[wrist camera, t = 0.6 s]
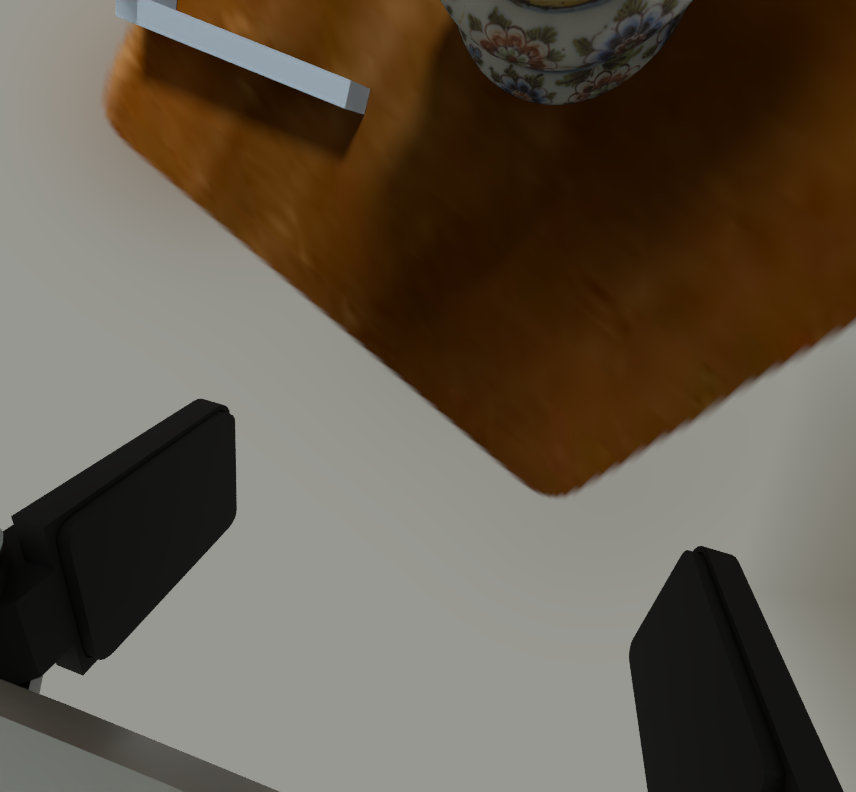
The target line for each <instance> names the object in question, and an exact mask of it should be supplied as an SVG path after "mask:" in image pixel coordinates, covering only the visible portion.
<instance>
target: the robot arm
mask: <svg viewBox="0 0 856 792" xmlns="http://www.w3.org/2000/svg"><path fill="white" fill-rule="evenodd" d="M235 451H236V449H235V419H234V417H233V415H231V414H230V413H229V410H228V407H226V406H224V405H221V404H218V403H215V402H211V401H208V400H204V399H197V400H195V401H193V402H192V403H190V404H189V405H187V406H185V407H184V408H182V409H181V410H179V411H177V412H176V413H174V414H173V415H171V416H169V417H168V418H166V419H165V420H163V421H162V422H160V423H158V424H157V425H155V426H154V427H152V428H150V429H149V430H147V431H146V432H144V433H143V434H141V435H139V436H138V437H136V438H135V439H133V440H131V441H130V442H128V443H127V444H125V445H123V446H122V447H120V448H119V449H117V450H116V451H114V452H112V453H111V454H109V455H108V456H106V457H104V458H103V459H101V460H100V461H98V462H96V463H95V464H93V465H92V466H90V467H89V468H87V469H85V470H84V471H82V472H81V473H79V474H77V475H76V476H74V477H73V478H71V479H70V480H68V481H66V482H65V483H63V484H62V485H60V486H59V487H57V488H55V489H54V490H52V491H51V492H49V493H47V494H46V495H44V496H43V497H41V498H39V499H38V500H36V501H35V502H33V503H31V504H30V505H28V506H27V507H25V508H24V509H22V510H20V511H19V512H17V513H16V514H14V515H13V516H12V520H13V523H14V525H12V526H11V527H9V528H8V529H6V530H5V531H2V530H1V529H0V792H279V791H276V790H274V789H271V788H269V787H267V786H264V785H262V784H259V783H257V782H255V781H252V780H250V779H247V778H245V777H243V776H240V775H238V774H235V773H233V772H230V771H228V770H226V769H223V768H221V767H218V766H216V765H213V764H211V763H209V762H206V761H204V760H201V759H199V758H196V757H194V756H191V755H189V754H186V753H184V752H182V751H179V750H177V749H174V748H172V747H169V746H167V745H164V744H162V743H160V742H157V741H155V740H152V739H150V738H147V737H145V736H142V735H140V734H137V733H135V732H132V731H130V730H128V729H125V728H123V727H120V726H118V725H115V724H113V723H111V722H108V721H106V720H103V719H101V718H98V717H96V716H93V715H91V714H88V713H86V712H84V711H81V710H78V709H76V708H74V707H71V706H69V705H66V704H64V703H61V702H59V701H56V700H53V699H51V698H48V697H46V696H43V695H40V694H39V693H40V688H41V683H42V678H43V674H44V673H45V672H46V671H47V670H48V669H49V668H50V667H52V666H53V665H54V664H55V663H56V664H57V665H58V666H61V667H63V668H66V669H68V670H71V671H73V672H76V673H78V674H81V675H84V674H85V673H86V672H87V671H88V670H89V668H90V667H91V666H92V665H93V664H94V663H95V662H96V661H97V660H98V659H99V660H102V659H105V658H107V657H108V656H110V655H111V654H112V653H113V652H114V651H115V650H116V649H117V648H118V647H119V646H120V644H122V642H123V641H124V640H125V639H126V638H127V637H128V636H129V635H130V634H131V633H132V632H133V631H134V630H135V628H136V627H137V626H138V625H139V624H140V623H141V622H142V621H143V620H144V618H145V617H147V615H148V614H149V613H150V612H151V611H152V610H153V609H154V608H155V607H156V606H157V605H158V604H159V603H160V601H161V600H162V599H163V598H164V597H165V596H166V595H167V594H168V593H169V592H170V591H171V590H172V588H173V587H174V586H175V585H176V584H177V583H178V582H179V581H180V580H181V579H182V578H183V576H185V574H186V573H187V572H188V571H189V570H190V569H191V568H192V567H193V566H194V565H195V564H196V563H197V562H198V560H199V559H200V558H201V557H202V556H203V555H204V554H205V553H206V552H207V551H208V549H210V547H211V546H212V545H213V544H214V543H215V542H216V541H217V540H218V539H219V538H220V537H221V535H223V533H224V532H225V531H226V530H227V529H228V528H229V527H230V525H231V524H232V522H233V520H234V518H235V516H236V510H237V508H236V507H237V506H236V453H235ZM629 662H630V669H631V676H632V683H633V690H634V697H635V704H636V711H637V718H638V725H639V732H640V739H641V747H642V753H643V761H644V768H645V774H646V782H647V789H648V792H843V790H842V787H841V785H840V783H839V781H838V779H837V776H836V774H835V772H834V770H833V768H832V765H831V763H830V761H829V759H828V757H827V755H826V752H825V750H824V748H823V746H822V743H821V741H820V739H819V737H818V735H817V733H816V730H815V728H814V726H813V724H812V722H811V719H810V717H809V715H808V713H807V711H806V709H805V706H804V704H803V702H802V700H801V697H800V695H799V693H798V691H797V689H796V687H795V684H794V682H793V680H792V678H791V676H790V673H789V671H788V669H787V667H786V665H785V663H784V660H783V658H782V656H781V654H780V652H779V649H778V647H777V645H776V643H775V640H774V638H773V636H772V634H771V632H770V630H769V628H768V625H767V623H766V621H765V619H764V616H763V614H762V612H761V610H760V608H759V605H758V603H757V601H756V599H755V597H754V595H753V592H752V590H751V588H750V586H749V584H748V581H747V579H746V577H745V575H744V573H743V570H742V568H741V566H740V564H739V562H738V560H737V559H736V557H734V556H733V555H730V554H727V553H723V552H720V551H717V550H713V549H710V548H707V547H703V546H698V547H697V548H695V549H694V551H693V552H692V551H688V550H686V551H685V552H684V553H683V554H682V555H681V557H680V559H679V560H678V562H677V564H676V566H675V567H674V569H673V571H672V572H671V574H670V576H669V578H668V579H667V581H666V583H665V585H664V587H663V588H662V590H661V591H660V593H659V595H658V597H657V599H656V600H655V602H654V604H653V606H652V607H651V609H650V611H649V612H648V614H647V616H646V617H645V619H644V621H643V623H642V624H641V626H640V628H639V630H638V631H637V633H636V635H635V637H634V638H633V640H632V642H631V646H630V652H629Z"/></svg>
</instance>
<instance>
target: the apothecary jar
mask: <svg viewBox="0 0 856 792" xmlns="http://www.w3.org/2000/svg"><path fill="white" fill-rule="evenodd" d="M692 1H693V0H441V2H442V4H443V5H444V7H445V9H446V10H447V12H448V13H449V15H450V16H451V18H452V19H453V20H454V21H455V23H456V24H457V26H458V29H459V32H460V34H461V37H462V39H463V41H464V44H465V46H466V48H467V50H468V52H469V54H470V55H471V57H472V59H473V60H474V62H475V64H476V65H477V66H478V68H479V69H480V70H481V71H482V72H483V73H484V74H485V75H486V76H487V77H488V78H489V79H490V80H491V81H492V82H493V83H494V84H495V85H497V86H498V87H499V88H501V89H502V90H504V91H506V92H508V93H509V94H511V95H513V96H515V97H518V98H520V99H523V100H526V101H529V102H534V103H539V104H549V105H563V104H571V103H576V102H580V101H584V100H588V99H592V98H594V97H597V96H599V95H602V94H604V93H606V92H608V91H610V90H612V89H614V88H615V87H617V86H619V85H620V84H622V83H623V82H624V81H626V80H627V79H629V78H630V77H631V76H633V75H634V74H635V73H636V72H638V71H639V70H640V69H641V68H642V67H643V66H644V65H645V64H646V63H648V62H649V61H650V60H651V59H652V58H653V57H654V55H655V54H656V53H657V52H658V51H659V50H660V49H661V48H662V46H663V45H664V44H665V43H666V41H667V40H668V39H669V37H670V36H671V35H672V33H673V32H674V30H675V29H676V27H677V26H678V24H679V22H680V21H681V19H682V17H683V15H684V14H685V12H686V10H687V8H688V6H689V4H690V3H691V2H692Z"/></svg>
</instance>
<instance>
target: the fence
mask: <svg viewBox="0 0 856 792" xmlns="http://www.w3.org/2000/svg"><path fill="white" fill-rule="evenodd" d="M176 4H177V0H116V16H117V17H119V18H122V19H124V20H127V21H129V22H132V23H134V24H137V25H139V26H142V27H144V28H146V29H149V30H151V31H154V32H156V33H159V34H161V35H164V36H166V37H169V38H171V39H174V40H176V41H179V42H181V43H184V44H186V45H189V46H191V47H193V48H196V49H198V50H201V51H203V52H206V53H208V54H211V55H213V56H216V57H218V58H221V59H223V60H226V61H228V62H231V63H233V64H235V65H238V66H240V67H243V68H245V69H248V70H250V71H253V72H255V73H258V74H260V75H263V76H265V77H268V78H270V79H273V80H275V81H277V82H280V83H282V84H285V85H287V86H290V87H292V88H295V89H297V90H300V91H302V92H305V93H307V94H310V95H312V96H315V97H317V98H319V99H322V100H324V101H327V102H329V103H332V104H334V105H337V106H339V107H342V108H344V109H347V110H351V111H354V112H357V113H360V114H364V113H365V109H366V105H367V101H368V97H369V93H370V89H369V88H367V87H364V86H362V85H360V84H358V83H356V82H353V81H351V80H349V79H346V78H344V77H341V76H339V75H336V74H334V73H331V72H329V71H326V70H324V69H321V68H319V67H316V66H314V65H311V64H309V63H306V62H304V61H301V60H299V59H296V58H294V57H291V56H289V55H286V54H284V53H281V52H279V51H276V50H274V49H271V48H269V47H266V46H264V45H261V44H259V43H256V42H254V41H251V40H249V39H246V38H244V37H241V36H239V35H236V34H234V33H231V32H229V31H226V30H224V29H221V28H219V27H216V26H214V25H211V24H209V23H206V22H204V21H201V20H199V19H196V18H194V17H191V16H189V15H186V14H184V13H181V12H179V11H176Z"/></svg>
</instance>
